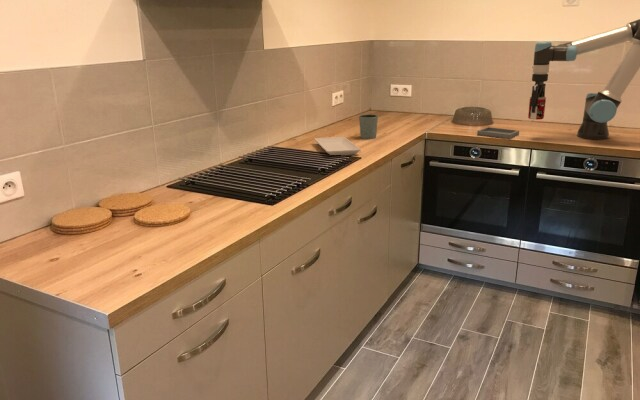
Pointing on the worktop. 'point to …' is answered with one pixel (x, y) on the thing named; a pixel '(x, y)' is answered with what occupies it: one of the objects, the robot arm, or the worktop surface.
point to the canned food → (538, 108)
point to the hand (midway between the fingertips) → (535, 117)
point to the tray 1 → (337, 146)
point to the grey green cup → (368, 126)
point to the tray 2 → (498, 133)
